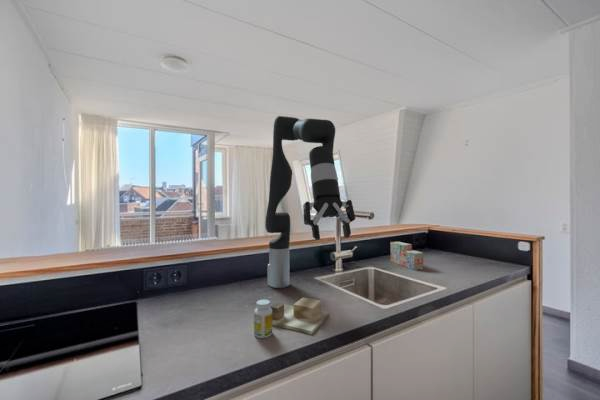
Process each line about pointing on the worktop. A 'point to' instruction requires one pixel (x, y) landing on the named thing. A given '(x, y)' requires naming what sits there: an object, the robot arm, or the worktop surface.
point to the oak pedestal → (307, 308)
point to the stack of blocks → (406, 255)
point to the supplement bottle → (263, 319)
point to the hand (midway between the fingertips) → (332, 238)
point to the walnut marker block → (277, 310)
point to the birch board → (299, 321)
